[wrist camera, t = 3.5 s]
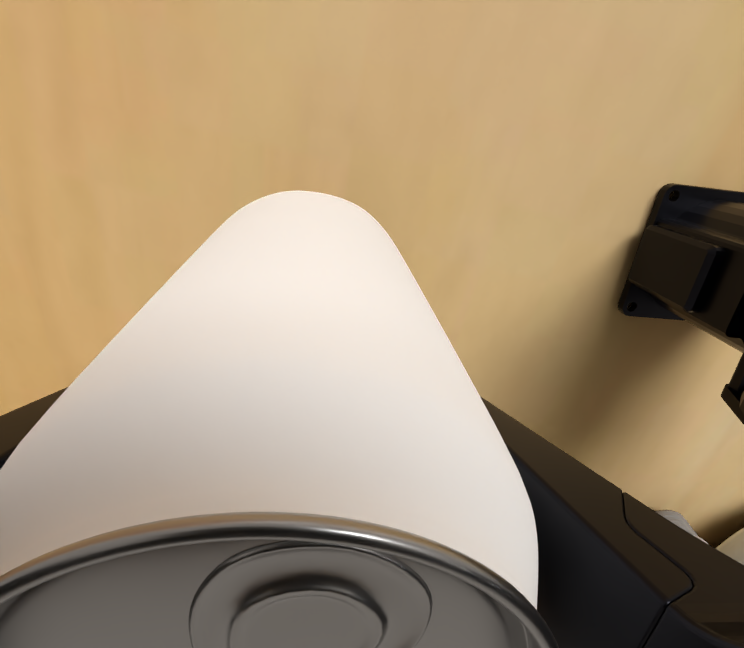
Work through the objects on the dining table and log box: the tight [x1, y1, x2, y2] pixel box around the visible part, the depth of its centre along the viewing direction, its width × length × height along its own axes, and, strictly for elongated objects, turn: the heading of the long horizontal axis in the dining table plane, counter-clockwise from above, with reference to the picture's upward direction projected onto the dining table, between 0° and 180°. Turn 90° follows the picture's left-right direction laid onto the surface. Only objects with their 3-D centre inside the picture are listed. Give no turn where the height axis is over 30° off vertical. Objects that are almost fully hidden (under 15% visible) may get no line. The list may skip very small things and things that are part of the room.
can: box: [0, 191, 558, 648], centre depth 9 cm, size 6×6×12 cm
